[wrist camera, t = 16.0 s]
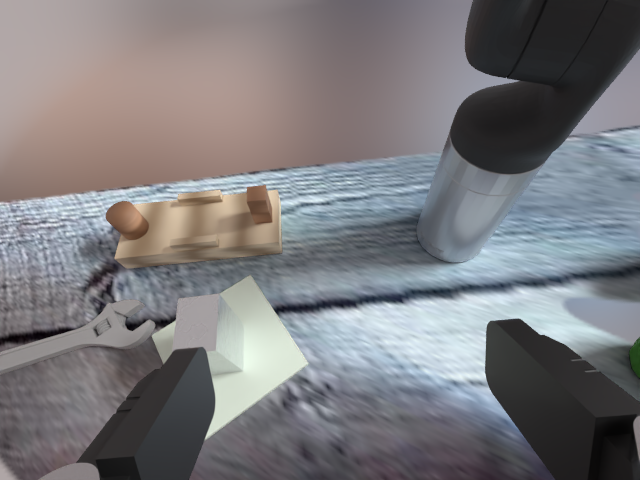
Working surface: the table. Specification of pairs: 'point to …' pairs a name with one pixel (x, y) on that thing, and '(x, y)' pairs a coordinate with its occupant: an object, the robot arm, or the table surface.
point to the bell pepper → (635, 357)
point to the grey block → (211, 332)
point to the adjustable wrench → (83, 337)
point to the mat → (247, 354)
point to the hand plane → (198, 228)
